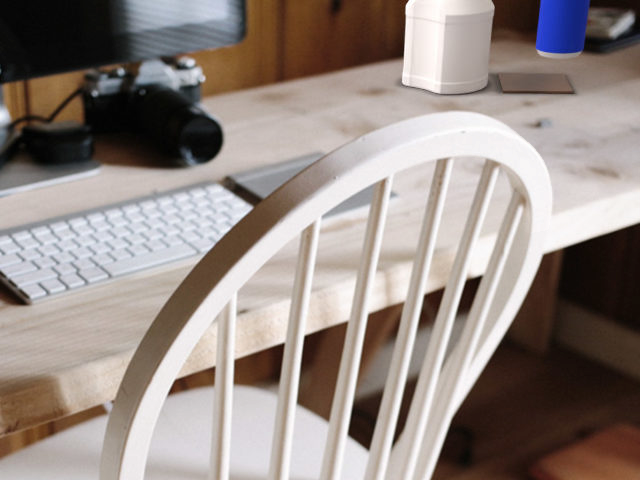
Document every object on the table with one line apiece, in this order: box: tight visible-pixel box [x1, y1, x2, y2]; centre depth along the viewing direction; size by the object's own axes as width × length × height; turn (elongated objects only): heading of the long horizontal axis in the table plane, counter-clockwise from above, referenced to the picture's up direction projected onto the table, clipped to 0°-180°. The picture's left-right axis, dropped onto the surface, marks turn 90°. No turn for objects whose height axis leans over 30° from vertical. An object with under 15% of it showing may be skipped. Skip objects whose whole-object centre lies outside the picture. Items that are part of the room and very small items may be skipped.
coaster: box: [496, 72, 574, 94], centre depth 139 cm, size 9×9×1 cm
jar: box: [401, 0, 496, 95], centre depth 136 cm, size 12×10×15 cm
